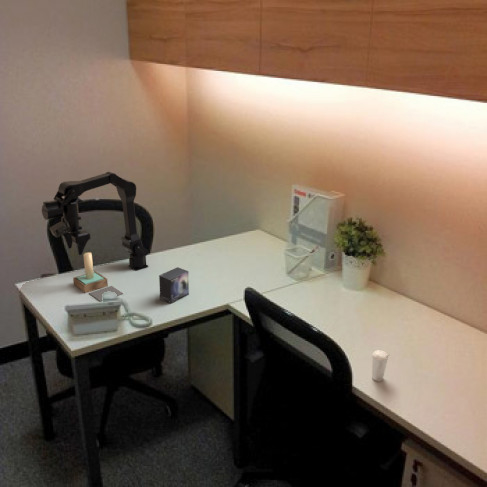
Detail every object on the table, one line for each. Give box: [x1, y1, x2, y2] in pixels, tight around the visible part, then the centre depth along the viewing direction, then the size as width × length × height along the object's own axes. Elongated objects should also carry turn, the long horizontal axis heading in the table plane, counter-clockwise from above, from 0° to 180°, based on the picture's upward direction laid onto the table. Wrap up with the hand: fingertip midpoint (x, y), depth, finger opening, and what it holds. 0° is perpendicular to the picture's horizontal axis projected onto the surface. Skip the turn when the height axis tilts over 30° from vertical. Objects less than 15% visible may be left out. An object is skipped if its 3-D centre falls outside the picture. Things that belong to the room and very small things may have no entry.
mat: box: [88, 285, 124, 302], centre depth 215 cm, size 10×9×1 cm
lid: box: [75, 252, 104, 285], centre depth 220 cm, size 8×8×12 cm
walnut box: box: [72, 270, 109, 294], centre depth 222 cm, size 10×10×3 cm
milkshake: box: [371, 349, 390, 382], centre depth 162 cm, size 5×5×10 cm
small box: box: [158, 266, 190, 305], centre depth 212 cm, size 11×6×10 cm, turn 143°
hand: (75, 251), depth 218 cm, fingers open, 9 cm apart
